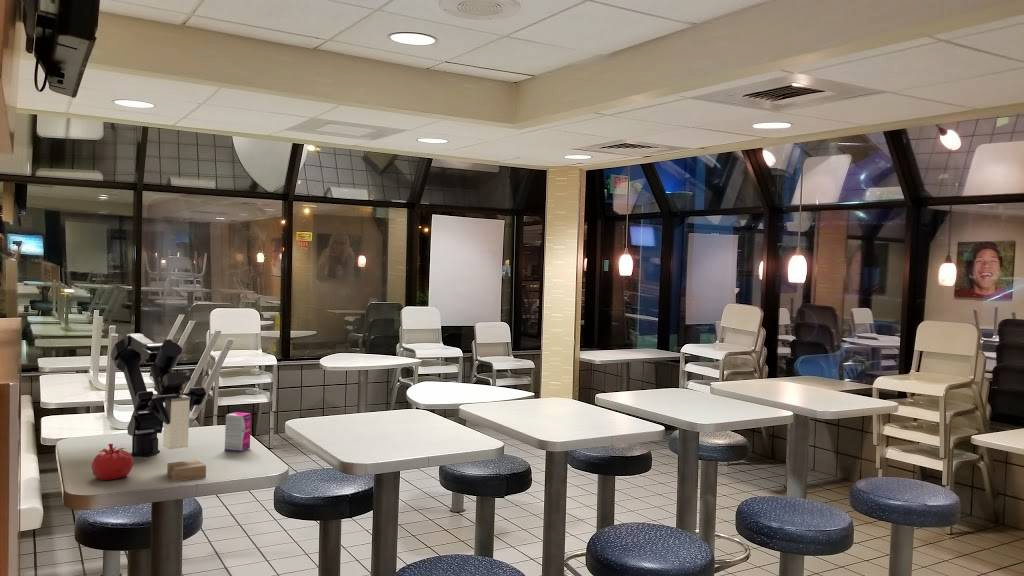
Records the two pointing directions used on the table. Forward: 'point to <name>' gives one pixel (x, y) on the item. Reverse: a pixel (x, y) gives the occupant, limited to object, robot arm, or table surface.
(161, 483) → the table surface
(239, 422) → the supplement box
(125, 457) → the red tomato
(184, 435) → the white tall block
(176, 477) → the walnut block
